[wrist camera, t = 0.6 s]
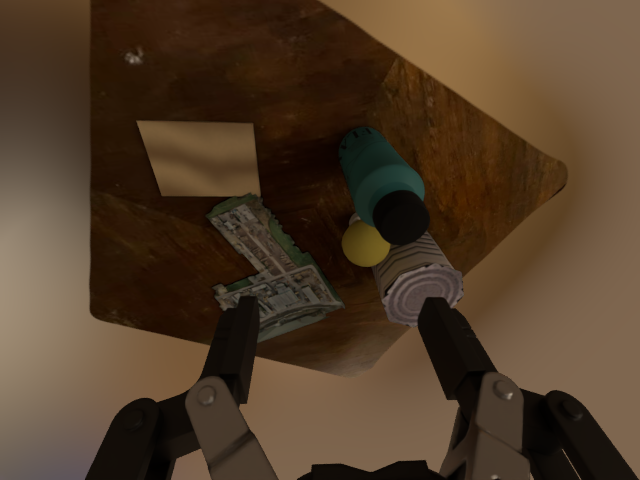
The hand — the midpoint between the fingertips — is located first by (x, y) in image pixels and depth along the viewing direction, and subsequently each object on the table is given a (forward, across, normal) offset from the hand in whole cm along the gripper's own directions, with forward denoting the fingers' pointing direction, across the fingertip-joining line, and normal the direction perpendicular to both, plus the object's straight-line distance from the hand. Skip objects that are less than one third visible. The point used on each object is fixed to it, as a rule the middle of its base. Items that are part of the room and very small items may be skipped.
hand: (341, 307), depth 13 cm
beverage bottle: (+28, -6, 0) cm, 29 cm away
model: (+28, +10, +24) cm, 38 cm away
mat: (+28, +15, +3) cm, 32 cm away
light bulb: (+28, -7, +11) cm, 31 cm away
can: (+28, -15, +17) cm, 36 cm away
